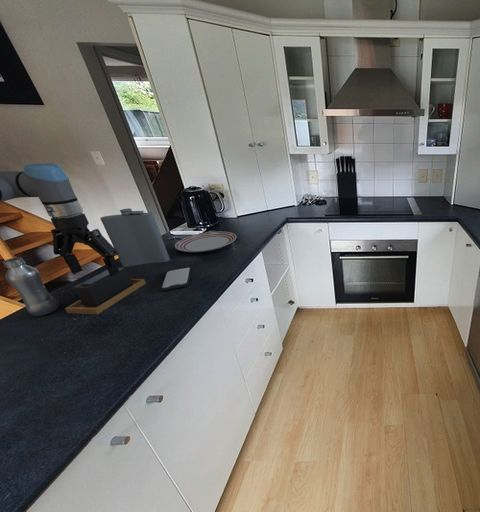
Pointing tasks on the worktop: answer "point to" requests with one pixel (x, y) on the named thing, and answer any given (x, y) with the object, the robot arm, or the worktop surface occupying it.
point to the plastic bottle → (30, 287)
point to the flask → (135, 237)
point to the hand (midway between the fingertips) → (96, 273)
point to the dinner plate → (205, 242)
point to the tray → (80, 308)
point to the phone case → (176, 279)
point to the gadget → (102, 287)
